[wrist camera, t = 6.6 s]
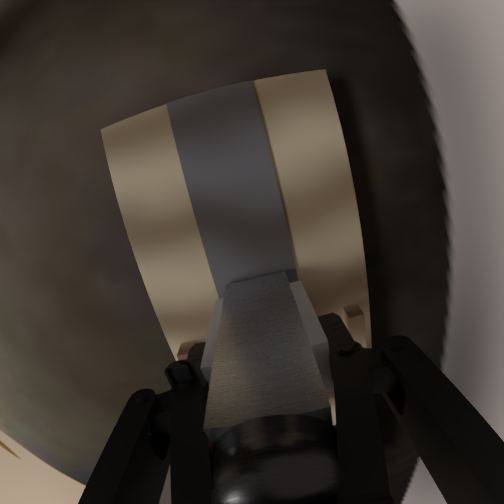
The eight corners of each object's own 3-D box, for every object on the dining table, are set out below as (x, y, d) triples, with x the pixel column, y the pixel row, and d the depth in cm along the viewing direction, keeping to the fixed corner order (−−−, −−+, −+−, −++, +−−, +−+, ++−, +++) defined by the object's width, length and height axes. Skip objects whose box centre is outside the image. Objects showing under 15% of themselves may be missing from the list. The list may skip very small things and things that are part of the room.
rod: (213, 284, 18) (163, 497, 5) (295, 264, 18) (384, 464, 5) (259, 419, 21) (267, 573, 8) (321, 406, 21) (360, 556, 8)
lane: (113, 132, 17) (76, 125, 13) (317, 78, 17) (339, 52, 12) (248, 478, 28) (248, 511, 23) (364, 454, 27) (375, 485, 22)
